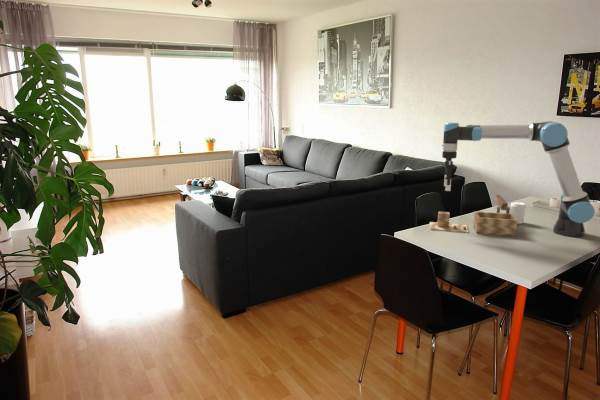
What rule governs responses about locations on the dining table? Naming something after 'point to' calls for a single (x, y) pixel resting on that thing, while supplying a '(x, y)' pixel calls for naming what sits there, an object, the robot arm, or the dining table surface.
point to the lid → (447, 224)
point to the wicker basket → (495, 223)
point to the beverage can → (518, 211)
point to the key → (501, 202)
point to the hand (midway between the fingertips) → (447, 188)
